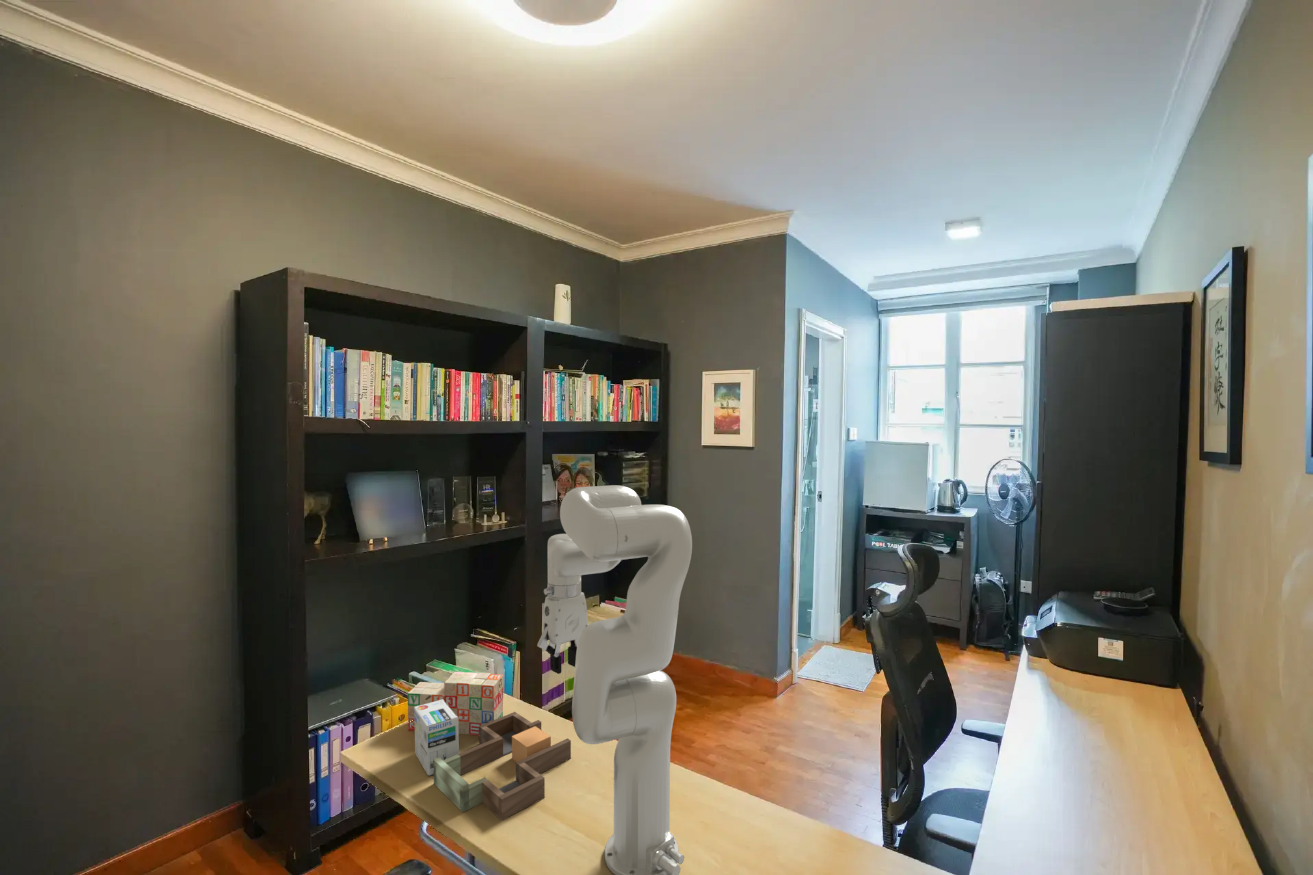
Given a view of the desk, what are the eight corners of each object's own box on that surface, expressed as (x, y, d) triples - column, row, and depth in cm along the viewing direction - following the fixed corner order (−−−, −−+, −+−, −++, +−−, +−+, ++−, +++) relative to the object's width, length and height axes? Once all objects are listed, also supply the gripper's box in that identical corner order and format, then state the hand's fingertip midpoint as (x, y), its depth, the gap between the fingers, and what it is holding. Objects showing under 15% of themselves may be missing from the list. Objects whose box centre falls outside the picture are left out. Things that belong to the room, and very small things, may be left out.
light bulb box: (460, 766, 128) (459, 716, 127) (427, 777, 124) (426, 726, 123) (444, 744, 136) (443, 697, 136) (413, 753, 132) (412, 706, 132)
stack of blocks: (407, 731, 142) (406, 680, 142) (420, 718, 148) (419, 669, 148) (494, 736, 140) (494, 684, 139) (503, 722, 146) (503, 673, 146)
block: (550, 758, 131) (550, 736, 131) (527, 770, 127) (527, 746, 127) (535, 747, 135) (535, 726, 135) (512, 758, 131) (511, 736, 131)
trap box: (591, 772, 126) (591, 748, 126) (482, 830, 108) (482, 803, 108) (521, 725, 145) (521, 705, 144) (418, 768, 127) (418, 745, 127)
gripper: (543, 600, 127) (543, 685, 128) (603, 585, 139) (603, 662, 140) (523, 593, 133) (523, 674, 133) (583, 579, 145) (583, 653, 145)
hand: (564, 667), depth 137 cm, fingers open, 4 cm apart
